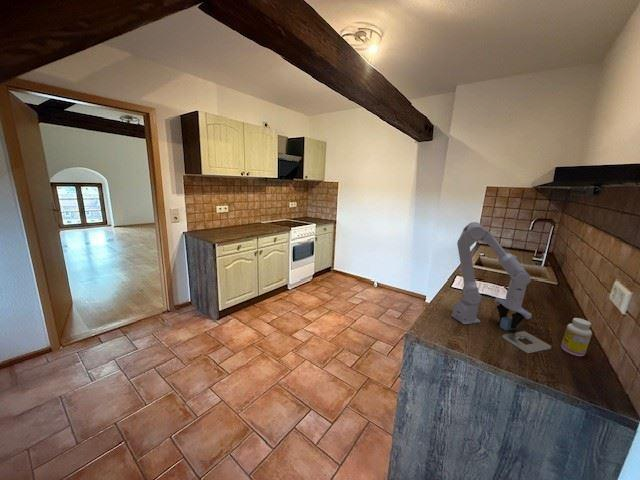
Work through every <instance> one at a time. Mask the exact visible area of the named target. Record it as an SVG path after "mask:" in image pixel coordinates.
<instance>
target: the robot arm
mask: <svg viewBox="0 0 640 480" xmlns="http://www.w3.org/2000/svg"><path fill="white" fill-rule="evenodd" d="M478 241H480V242H482V243H484V244H485V243H486V244H487V245H488V246H489V247H490V249H492V250H493V252H494V253H495V254H496V255H497V256H498V259H497V262H498V263H499V264H500V266H501V267H502V269H504V271H505V272H506V273H507V275H509V277H510V281H509V284H508V288H507V291H506V295H505V299H502V298H501V297H496V298H494V301H493V302H494V303H496V304H498V305H497V306H496V309H497V311H498V315H499V322H501V318H502V317H508V313H509V311H510V310H511V311H512V312H514V313H511V316H512V324H511V328H512V330H515V329H517V327H518V326H519V324H520V323H521V322H522V321H523V320H524V319H526V320H529V319H532V315H533V314H532V313H531V312H529V311H528V310H526V309H524V308H523V307H522V305H523V302H524V298H525V293H526V291H527V290H526V289H527V286H528V285H529V284H530V283H531V281H532V279H531V274H530V273H529V272H527V271H526V270H525V269H526V267H525V266H524V265H522V264H521V263H520V262H519V260H517V259H519V258H518V256H516V255H514V254H512V253H508V252H506V251H505V250H504V248H503V247H502V246H501V244H500V243H499V241H498V240H497V239H496V238H495V236H494V235H493V234H491V232H489V231H488V230H487V229H486V228H485V227H484V226H482V224H481V223H479V222H477V221H476V222H475V221H473V222H469V223H468V224H467V225H465V227H464V228H463V230H462V232H461V234H460V236H459V238H458V240H457V242H456V243H457V245H456V246H457V251H458V256H459V261H460V267H461V274H462V279H463V286H462V293H463V295H462V296H461V298H460V300H458V301H456V302H455V303H454V304H453V309H452V313H451V314H450V316H451V317H452V318H454V319H455V320H456V321H458V322H459V323H461V324H463V325H469V324H476V323H481V320H480V319H479V318H477V315H478V312H479V307H480V303H481V301H482V295H481V293H480V291H479V287H478V286H477V281H476V276H475V269H474V264H473V259H472V252H471V247H472V246H473V245H474V244H475V243H476V242H478Z"/></svg>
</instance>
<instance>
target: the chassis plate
mask: <svg viewBox="0 0 640 480" xmlns="http://www.w3.org/2000/svg"><path fill="white" fill-rule="evenodd" d="M501 338H502V339H504V340H505V341H507V342H508V343H510V344H512V345H514V346H515V347H517V349H520V350H521V351H523V352H525V353H526V354H531V353H532V354H533V353H537V352H541V351H546V350H551V348H552V345H550V344H549V343H546V342H545V341H543V340H541V339H539V337H536V336H535V335H533V334H530V333H528V332H527V331H526V330H523V331H517V332H516V331H515V332H514V333H513V332H510V333H505V334H502V336H501ZM519 339H520V340H528V341H529V342H531V343H529V344H526V343H525V342H522V341H520V340H519Z"/></svg>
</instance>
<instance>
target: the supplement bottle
mask: <svg viewBox="0 0 640 480" xmlns="http://www.w3.org/2000/svg"><path fill="white" fill-rule="evenodd" d="M571 321H572V323H568V324H567V325H566V329H565V332H564V334H563V338H562V341H561V344H560V347H561V349H562V350H563V351H565V353H568V354H570V355H573V356H576V357H583V356H585V355H586V354H587V353H586V352H587V350H588V346H589V343H590V340H591V338H592V335H593V331H592V330H591V329H590V327H591V325H592V323H591V322H590V321H588V320H586V319H583V318H580V317H579V318H578V317H574V318H573V319H572V320H571Z"/></svg>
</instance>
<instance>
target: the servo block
mask: <svg viewBox="0 0 640 480" xmlns="http://www.w3.org/2000/svg"><path fill="white" fill-rule="evenodd" d="M499 322H500V321H499ZM511 324H512V315H509V316H507V317H502V318H501V322H500V324H499V328H501V329H502V330H505V331H510V330H513V329H512V328H511Z"/></svg>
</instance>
